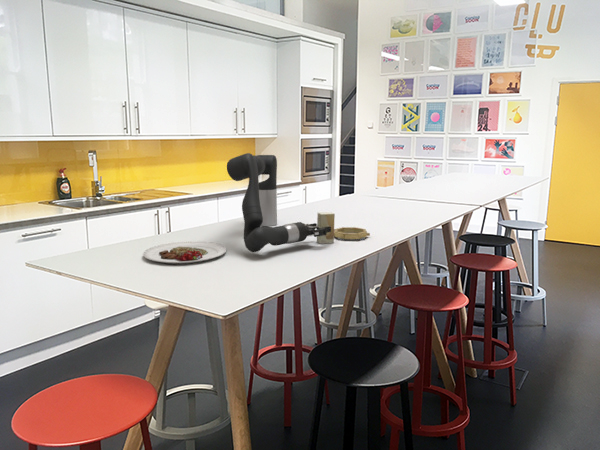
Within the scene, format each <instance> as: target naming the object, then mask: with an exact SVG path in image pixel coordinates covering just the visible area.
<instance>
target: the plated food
mask: <svg viewBox="0 0 600 450" xmlns="http://www.w3.org/2000/svg"><path fill="white" fill-rule="evenodd" d="M226 252H227V247H225V245H223V244H219V243H215V242H208V241H178V242H171V243H164V244H160V245H156V246H153V247H150V248H148V249H146V250H145V251H143V253H142V255H143V257H144V258H145V259H147V260H150V261H153V262H157V263H164V264H165V263H166V264H192V263H200V262H205V261H209V260H211V259H215V258H218V257H221V256H223V255H224V254H225V253H226Z"/></svg>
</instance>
